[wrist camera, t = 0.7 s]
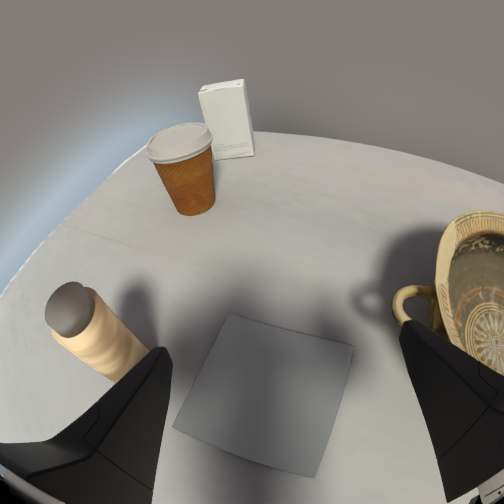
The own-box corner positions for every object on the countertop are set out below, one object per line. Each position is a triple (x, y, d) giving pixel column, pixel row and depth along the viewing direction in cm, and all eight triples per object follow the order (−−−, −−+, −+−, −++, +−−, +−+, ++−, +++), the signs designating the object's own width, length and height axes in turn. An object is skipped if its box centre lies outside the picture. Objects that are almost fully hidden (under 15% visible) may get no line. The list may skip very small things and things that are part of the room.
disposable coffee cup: (170, 231, 39) (143, 158, 30) (164, 197, 45) (143, 134, 37) (232, 210, 41) (218, 135, 32) (217, 180, 47) (204, 116, 38)
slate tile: (313, 477, 17) (314, 478, 16) (174, 427, 21) (172, 426, 20) (353, 348, 24) (354, 345, 24) (229, 316, 29) (228, 313, 28)
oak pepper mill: (144, 400, 23) (63, 347, 14) (109, 379, 24) (31, 318, 15) (167, 359, 26) (103, 287, 17) (131, 342, 27) (66, 269, 18)
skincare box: (255, 144, 55) (247, 77, 44) (254, 157, 51) (245, 84, 40) (215, 148, 56) (203, 83, 45) (211, 162, 52) (196, 90, 41)
